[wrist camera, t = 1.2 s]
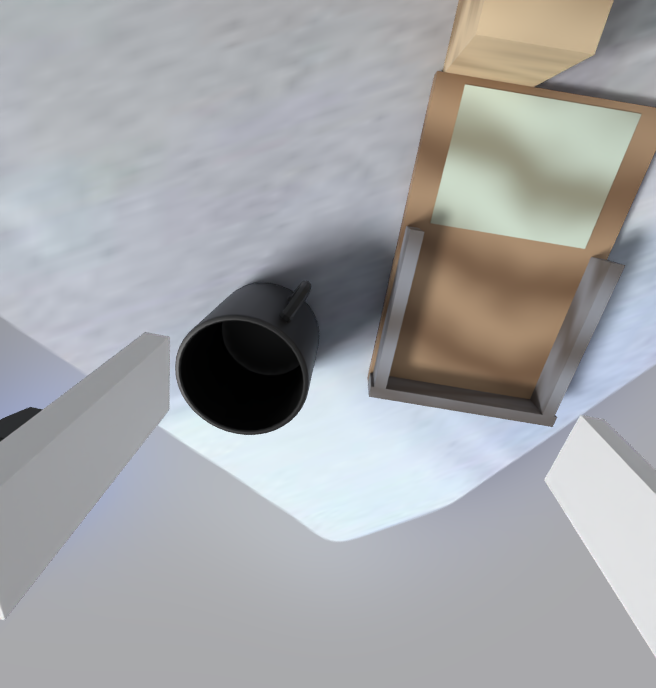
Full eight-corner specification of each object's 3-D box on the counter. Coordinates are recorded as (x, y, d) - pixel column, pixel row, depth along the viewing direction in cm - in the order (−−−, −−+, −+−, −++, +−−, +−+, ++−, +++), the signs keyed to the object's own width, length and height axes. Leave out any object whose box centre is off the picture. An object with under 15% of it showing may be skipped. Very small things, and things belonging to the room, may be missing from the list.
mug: (358, 302, 33) (360, 343, 24) (281, 395, 37) (261, 456, 29) (269, 234, 31) (238, 253, 23) (199, 340, 35) (151, 388, 27)
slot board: (434, 74, 26) (445, 59, 23) (662, 113, 26) (705, 103, 23) (367, 377, 36) (368, 396, 32) (534, 404, 36) (552, 426, 32)
